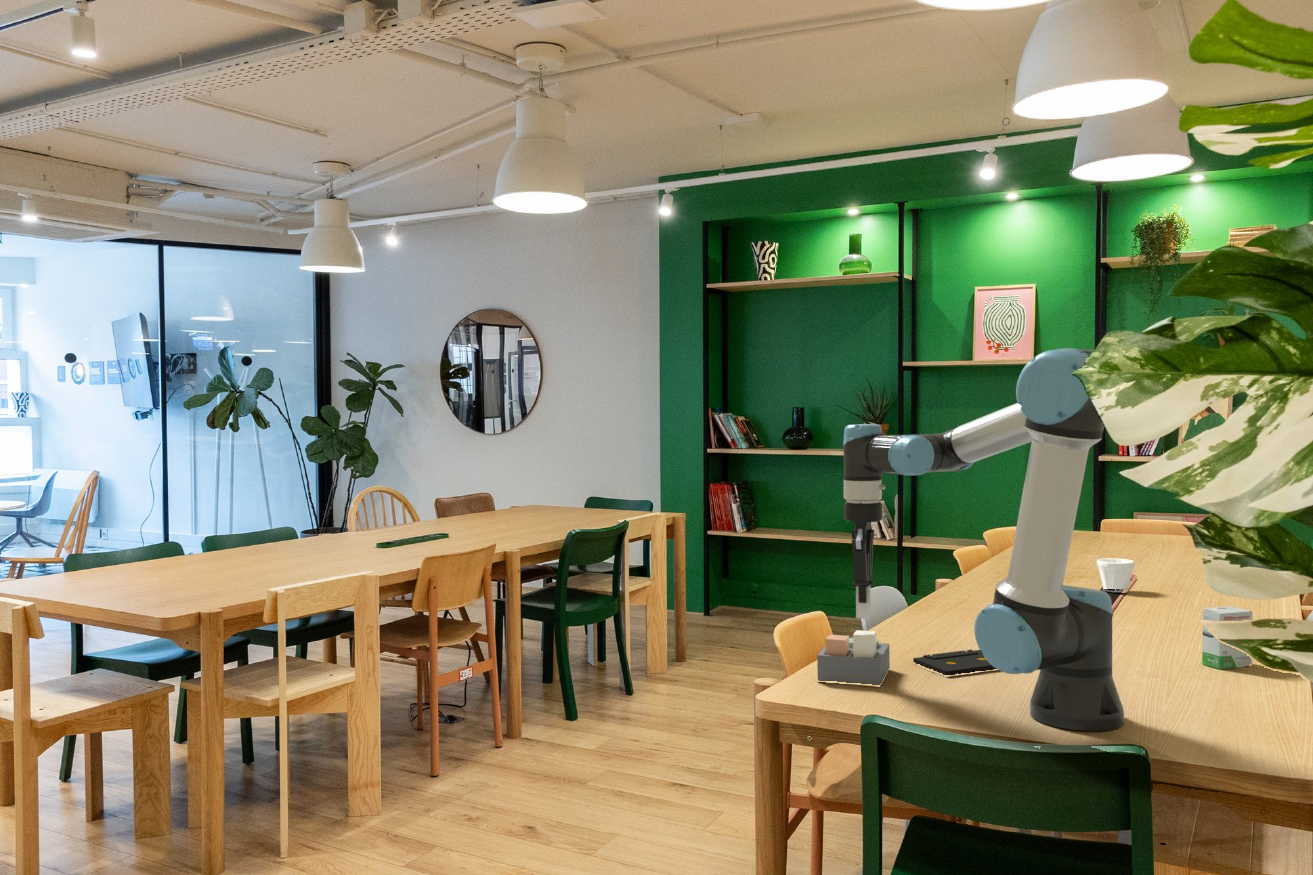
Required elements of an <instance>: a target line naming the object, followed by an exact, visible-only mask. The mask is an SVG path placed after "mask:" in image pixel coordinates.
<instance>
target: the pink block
mask: <svg viewBox="0 0 1313 875" xmlns="http://www.w3.org/2000/svg"><path fill="white" fill-rule="evenodd" d="M849 638H850V636H849V635H839V634H838V635H837V634H828V636H826V638H825V646H826V655H838V656H848V655H849Z"/></svg>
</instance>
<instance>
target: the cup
mask: <svg viewBox="0 0 1313 875" xmlns="http://www.w3.org/2000/svg"><path fill="white" fill-rule="evenodd" d="M1096 565H1097V568H1098V572H1099V576H1100V580H1101V584H1102V588H1103V590H1104V589H1115V590H1116V589H1124V590H1126V593H1125V594H1127V593H1128V591H1129V588H1130V584H1131V579H1132V575H1133V572H1134V568H1135V561H1134V560H1133V559H1132V560H1131V559H1127V558H1126V559H1125V558H1114V557H1113V558H1109V557H1105V558H1098V559H1097V560H1096Z"/></svg>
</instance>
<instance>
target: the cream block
mask: <svg viewBox="0 0 1313 875" xmlns="http://www.w3.org/2000/svg"><path fill="white" fill-rule="evenodd" d="M852 638H853V657H866V658H876V657H877V652H876V640H877V631H874V630H872V631H870V630H859V629H858V630H855V632H854V633H853V635H852Z"/></svg>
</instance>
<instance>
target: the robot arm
mask: <svg viewBox="0 0 1313 875" xmlns="http://www.w3.org/2000/svg"><path fill="white" fill-rule="evenodd" d="M1093 350H1094V349H1083V348H1082V349H1081V348H1080V349H1079V348H1067V347H1063V348H1058V349H1051V350H1046V351H1042V352H1041V353H1039V354H1037V355H1035V357H1033V358H1032V359H1030V360H1029V361H1028V362H1027V363H1026V364H1025V366H1024V367H1023V368H1022V370H1021V372H1020V374H1019V377H1018V379H1017V381H1016V386H1015V389H1016V390H1015V396H1016V401H1017V402H1016V403H1014V404H1011V405H1009V406H1006V407H1003V408H1001V409H999V410H995V411H993V412H991V413H989V414H985V415H984V416H980V417H979V418H976V419H974V420H971V421H968V422H966V423H964V424H961V425H959V426H956V427H955V428H952V429H949V430H947V431H945V432H941V433H925V434H884V433H883V428H882V426H881V425H880V424H874V423H873V424H872V423H870V424H868V423H867V424H866V423H863V424H861V423H860V424H859V423H858V424H857V423H856V424H847V425H846V426H845V427H844V430H843V443H842V448H843V499H844V500H846V501H845V502H844V504H843V520H844V521H847V522H854V529H853V530H851V539H852V540H851V546H852V557H853V558H852V559H853V560H852V561H853V562H852V563H853V579H854V580H853V582H852V583H851V586H852V587H855V618H856V619H862V620H863V619H864V620H870V619H872V603H871V602H872V600H871V599H872V593H871V592H872V587H871V586H874V585H875V581H873V559H874V558H873V557H874V554H873V553H874V538H875V529H872V523H876V522H877V523H878V522H881V521H882V520H883V504H882V502H880V500H882V499H883V490H885V489H886V485H885V484H882V482H883V481H882V480H883V473H884V474H892V475H902V476H905V477H908V476H921V475H924V474H925V473H937V472H938V473H939V472H951V473H952V472H953V473H954V472H959V471H964V470H967V469H970V468H971V467H972V466H973V465H974V463H975V462H978V461H981V460H983V459H984V460H985V459H987V458H989V457H992V456H995V455H998V454H1000V453H1003V452H1007V451H1009V450H1012V449H1015V448H1017V447H1022V446H1024V445H1027V444H1029V443H1031V444H1030V449H1029V456H1028V461H1027V465H1026V466H1027V468H1026V473H1025V479H1024V483H1023V487H1022V494H1021V500H1020V506H1019V511H1018V515H1017V521H1016V522H1017V523H1016V527H1015V532H1014V540H1013V544H1012V549H1011V556H1010V560H1009V561H1010V562H1009V567H1008V571H1007V572H1008V573H1007V575H1006V576H1007V577H1006V578H1004V579H1002V580H1000V581H998V582H997V583H996V585H995V589H994V595H993V601H992V604H988V605H986V606H985V607H984V608H983V609H982V610H980V611H979V613H978V614H977V615H976V618H975V621H974V637H975V641H976V644H977V647H978V650H981V651H982V653H983V656H984V657H985V659H986V660H987V661H988V662H989V663H990V664H991V665H992V666H993V667H995V668H996V669H998V670H1000V672H1002V673H1005V674H1009V675H1019V674H1025V675H1026V674H1033V673H1034V672H1035V671H1036V672H1037V671H1038V670H1039V674H1038V676H1037V679H1036V680H1037V681H1036V683H1035V686H1034V689H1033V692H1032V695H1031V697H1030V702H1029V714H1030V716H1031V718H1033V719H1034V720H1035V721H1037V722H1040V723H1043V724H1045V725H1049V726H1051V727H1055V728H1059V729H1060V728H1061V729H1065V730H1073V731H1080V732H1081V731H1084V732H1104V731H1111V730H1115V729H1118V728H1120V727H1122V726H1123V725H1124V724H1125V712H1124V707H1123V704H1122V701H1121V697H1120V695H1119V692H1118V690H1117V687H1116V684H1115V681H1114V678H1113V617H1114V612H1113V607H1112V606H1113V605H1112V598H1111V596H1110V594H1109V593H1107V592H1105V591H1104V590H1099V589H1094V588H1088V587H1080V586H1072V585H1064V579H1065V574H1066V569H1067V565H1068V560H1069V555H1070V550H1071V544H1072V539H1073V534H1074V533H1073V532H1074V529H1075V522H1076V519H1077V512H1078V508H1079V507H1078V506H1079V502H1080V497H1081V492H1082V487H1083V482H1084V478H1085V477H1084V475H1085V471H1086V466H1087V461H1088V456H1089V451H1090V448H1091V447H1093V446H1094V445H1096V444H1097V443H1099V442H1101V440H1102V439H1103V433H1104V428H1105V425H1104V426H1103V423H1102V422H1101V421H1100V419H1099V418H1098V415H1097V413H1096V411H1095V410H1094V407H1093V405H1092V402H1091V401H1090V398H1089V397H1088V395H1087V394H1086V391H1085V390H1084V386H1083V385H1082V383H1081V382H1080V380H1079V379H1078V378H1077V377H1075V376H1073V375H1072V373H1073V371H1076V370H1077V369H1080V367H1083V366H1084V362H1085V361H1086V358H1088V356H1089V355H1090V354H1091V352H1092V351H1093Z"/></svg>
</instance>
